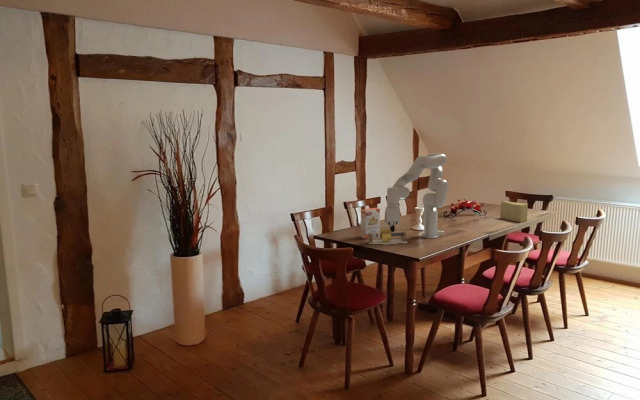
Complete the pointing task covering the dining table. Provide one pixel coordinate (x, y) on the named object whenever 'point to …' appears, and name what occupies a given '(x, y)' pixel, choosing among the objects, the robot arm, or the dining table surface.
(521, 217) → the cheese
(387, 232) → the yellow block
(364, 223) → the cracker box
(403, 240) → the cord rail
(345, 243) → the dining table surface
